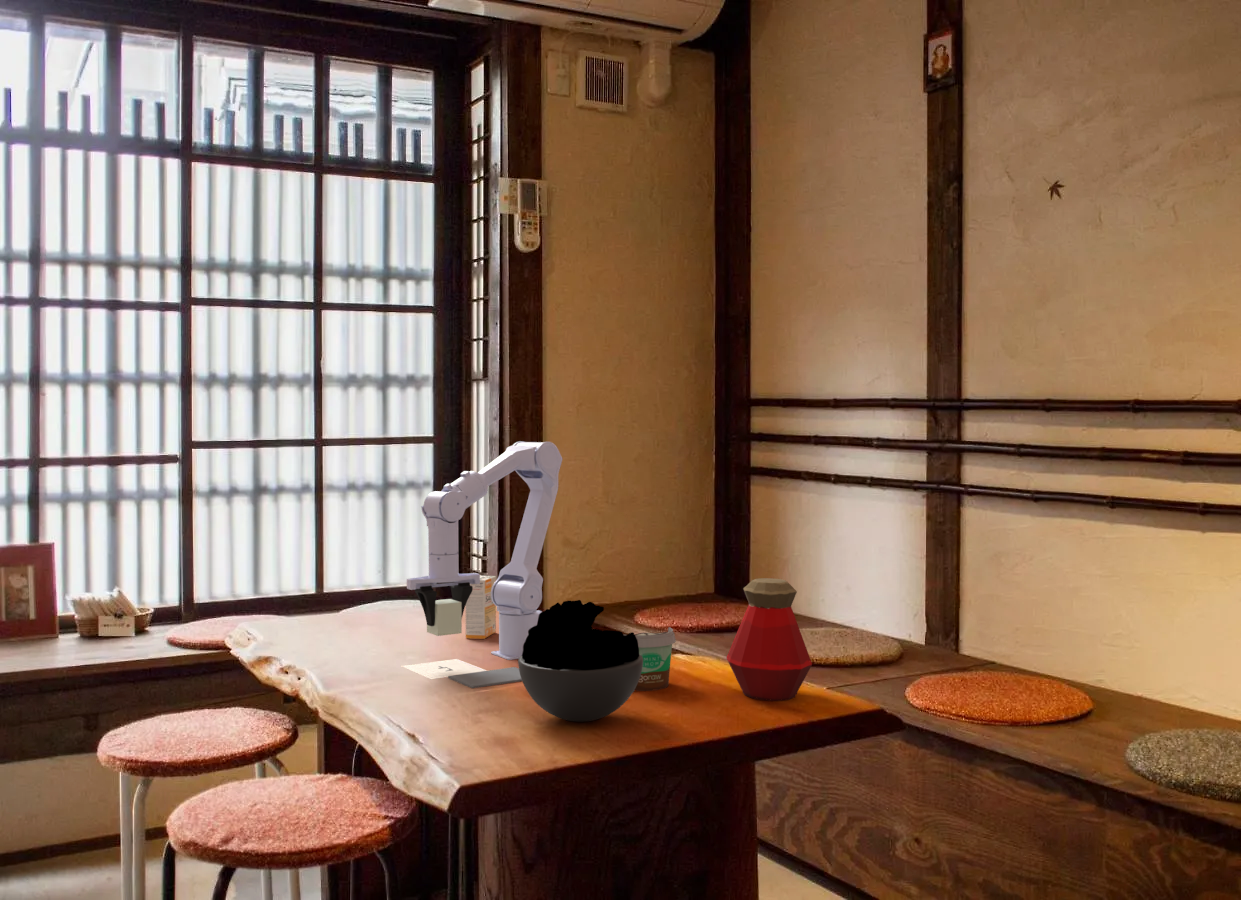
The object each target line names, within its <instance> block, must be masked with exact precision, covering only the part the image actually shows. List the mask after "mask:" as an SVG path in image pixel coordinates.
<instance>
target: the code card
mask: <svg viewBox="0 0 1241 900" xmlns="http://www.w3.org/2000/svg"><path fill="white" fill-rule="evenodd" d="M401 667H402V668H404V669H407V670H409V671H411V672H413V673H416V674H418V675H420V676H422V677H425V678H427V679H430V680H435V679H443V678H448V676H452V675H459V674H467V673H474V672H481V671H488V670H486V669H485V668H481V667H479V666H476V665H474V664H471V663H469V662H466V661H463V660H460V659H459V658H454V659H446V660H438V661H429V662H422V663H416V664H409V665H408V664H407V665H406V664H405V665H401Z"/></svg>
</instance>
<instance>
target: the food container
mask: <svg viewBox="0 0 1241 900" xmlns="http://www.w3.org/2000/svg"><path fill="white" fill-rule="evenodd" d="M623 635H626V634H624V633H623ZM634 635H635V636H636V638H637V640H638V646H639V654H640V655H641V656H642V657H643V667H642V672H641V676H640V678H639V681H638V684H637V686H636V688H635V690H636V691H637V692H639V691H640V692H644V691H645V692H650V691H651V692H652V691H659V690H663V689H666V688H668V687H669V682H670V671H671V670H670V669H671V660H672V647H673V644H675V643H676V641H677V640H676V635H675V632H674V629H673V628H671V627H670V626H669V627H668V629H667V631H663V632H655V633H654V632H638V633H636V634H635V633H634ZM635 690H634V691H635Z"/></svg>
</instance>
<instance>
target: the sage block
mask: <svg viewBox="0 0 1241 900" xmlns="http://www.w3.org/2000/svg"><path fill="white" fill-rule="evenodd" d="M462 621H463V616H462V607H461V602H459V601H456V600H453V599H452V598H446V599H438V600H437V599H436V601H435V625H434V626H429V625H427V624H426V633H428V634H431V635H434V636H436V637H439V636H440V637H441V636H448V635H449V636H450V635H458V634H462V632H463V630H462V629H463V628H462V626H463V625H462V624H463V623H462Z"/></svg>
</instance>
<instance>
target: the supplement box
mask: <svg viewBox="0 0 1241 900" xmlns="http://www.w3.org/2000/svg"><path fill="white" fill-rule="evenodd" d="M496 580H497V576H496V575H480V584H470V586H473V590H472V593H471V594H470V596H469V598H468V600H467V603H466V605H465V639H471V640H472V639H475V640H477V639H478V640H480V639H481V640H485V639H486V638H488V637H490V636H491V635H493V634H496V632H497V606H496V605H495V604H494V603H493V601H492V599H491V589H492V586H493V584H494V583H495V581H496Z"/></svg>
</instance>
